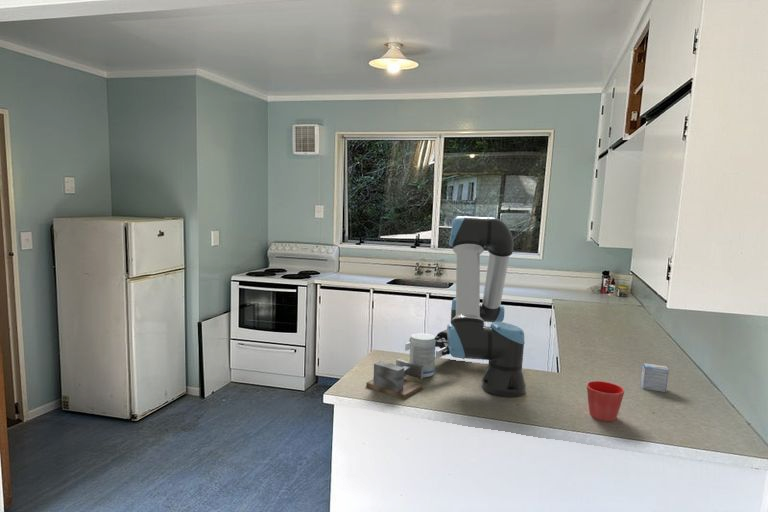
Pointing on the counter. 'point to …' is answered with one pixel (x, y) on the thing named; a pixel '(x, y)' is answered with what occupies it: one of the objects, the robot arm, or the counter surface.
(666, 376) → the medicine box
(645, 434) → the counter surface
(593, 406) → the flower pot
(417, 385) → the gauge bench
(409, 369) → the gauge plunger
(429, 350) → the supplement tub
